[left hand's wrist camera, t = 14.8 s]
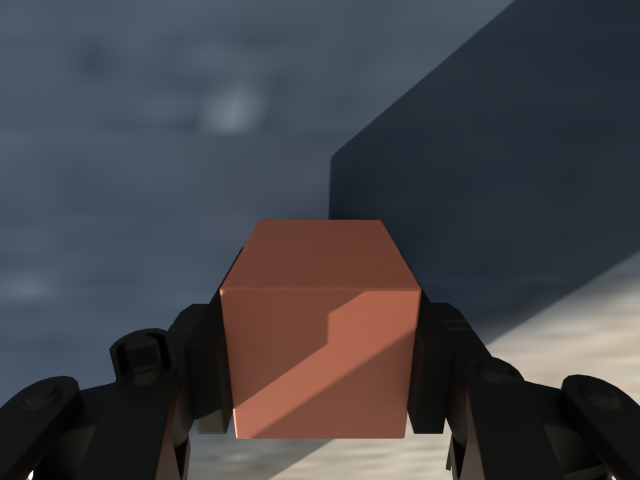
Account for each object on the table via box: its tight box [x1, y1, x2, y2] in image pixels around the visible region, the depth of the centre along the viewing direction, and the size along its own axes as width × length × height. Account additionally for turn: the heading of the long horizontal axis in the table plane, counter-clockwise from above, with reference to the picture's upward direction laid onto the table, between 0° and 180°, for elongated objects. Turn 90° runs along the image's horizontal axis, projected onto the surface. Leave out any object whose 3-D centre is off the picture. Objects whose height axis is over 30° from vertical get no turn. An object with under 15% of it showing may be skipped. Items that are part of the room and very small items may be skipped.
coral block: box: [220, 220, 421, 439], centre depth 12 cm, size 5×5×6 cm
